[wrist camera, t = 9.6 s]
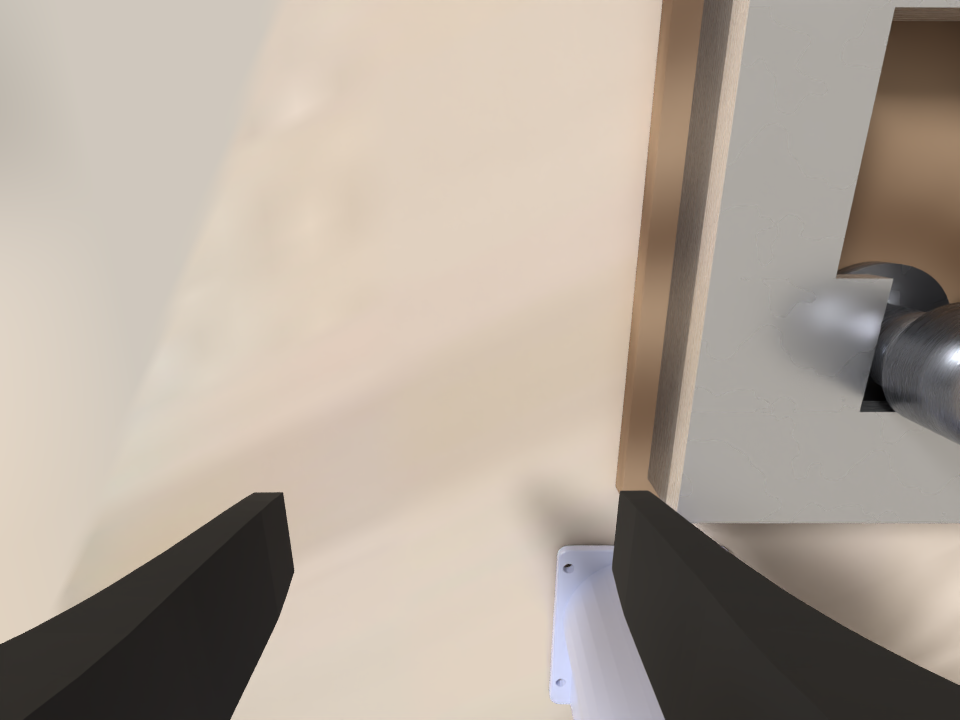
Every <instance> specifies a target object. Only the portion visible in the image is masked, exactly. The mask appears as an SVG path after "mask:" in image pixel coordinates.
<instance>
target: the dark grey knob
mask: <svg viewBox="0 0 960 720" xmlns="http://www.w3.org/2000/svg"><path fill="white" fill-rule="evenodd" d="M837 274H870V275H876V276H881V277H887V278H893V282H892V286H891V290H890V294H889V298H888V302H887V306H886V310H885V314H884V318H883V322H882V326H881V329H880V333H879V337H878V341H877V345H876V349H875V353H874V357H873V361H872V365H871V369H870V373H869V377H868V381H867V384H866V388H865V392H864V396H863V400H862V401H887V402H888V403H889V405H890V406H891V407H892V408H893V409H894V411H895V412H897V413H898V414H899V415H901V416H903V417H904V418H906V419H908V420H910V421H912V422H914V423H916V424H918V425H920V426H922V427H924V428H926V429H928V430H930V431H932V432H935V433H937V434H939V435H941V436H943V437H945V438H947V439H949V440H951V441H953V442H955V443H957V444H959V445H960V302H956V303H951V304H949V301H948V298H947V295H946V293H945V292H944V290H943V288H942V287H941V286H940V284H939V283H938V282H937V281H936V280H935V279H934V278H933V277H932V276H930V275H929V274H927V273H926V272H924V271H922V270H920V269H918V268H915V267H913V266H908V265H904V264H897V263H889V262H879V261H871V262H862V263H856V264H853V265H850V266H846V267H844V268H842V269H839V270H837Z"/></svg>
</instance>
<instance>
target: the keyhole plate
mask: <svg viewBox="0 0 960 720" xmlns="http://www.w3.org/2000/svg"><path fill="white" fill-rule="evenodd" d="M892 21H960V0H704V5H703V14H702V22H701V30H700V39H699V47H698V56H697V64H696V73H695V81H694V89H693V98H692V106H691V115H690V123H689V132H688V140H687V148H686V157H685V165H684V174H683V182H682V191H681V199H680V207H679V216H678V224H677V233H676V241H675V250H674V258H673V266H672V275H671V283H670V292H669V300H668V309H667V317H666V325H665V334H664V342H663V351H662V359H661V368H660V376H659V384H658V393H657V401H656V410H655V418H654V427H653V435H652V443H651V452H650V460H649V469H648V477H647V478H648V480H649V482H650V483H651V485H652V486H653V488H654V490H655V491H656V493H657V494H658V496H659V498H660V499H661V500H662V501H663V502H665V503H666V504H667V505H669V506H670V507H671V508H672V509H674V510H675V511H676V512H678V513H679V514H680V515H681V516H683V517H684V518H685V519H686V520H688V521H689V522H690V523H960V445H959V444H957V443H955V442H953V441H951V440H949V439H947V438H945V437H943V436H941V435H939V434H937V433H935V432H932V431H930V430H928V429H926V428H924V427H922V426H920V425H918V424H916V423H914V422H912V421H910V420H908V419H906V418H904V417H903V416H901V415H899V414H898V413H897V412H895V411H894V409H893V408H892V407H891V406H890V405H889V403H888V402H887V401H862V400H863V396H864V392H865V388H866V384H867V381H868V377H869V373H870V369H871V365H872V361H873V357H874V353H875V349H876V345H877V341H878V337H879V333H880V329H881V326H882V322H883V318H884V314H885V310H886V306H887V302H888V298H889V294H890V290H891V286H892V282H893V278H887V277H881V276H876V275H870V274H837V270H838V265H839V261H840V256H841V252H842V247H843V243H844V238H845V233H846V229H847V224H848V220H849V215H850V211H851V206H852V202H853V197H854V192H855V188H856V183H857V179H858V174H859V170H860V165H861V160H862V156H863V151H864V147H865V142H866V138H867V133H868V129H869V124H870V119H871V115H872V110H873V106H874V101H875V97H876V92H877V87H878V83H879V78H880V74H881V69H882V65H883V60H884V55H885V51H886V46H887V42H888V37H889V33H890V28H891V24H892Z"/></svg>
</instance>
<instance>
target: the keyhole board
mask: <svg viewBox="0 0 960 720" xmlns="http://www.w3.org/2000/svg"><path fill="white" fill-rule="evenodd" d="M703 5H704V0H663V3H662V13H661V24H660V34H659V44H658V54H657V65H656V75H655V85H654V96H653V106H652V116H651V127H650V137H649V147H648V157H647V168H646V178H645V188H644V199H643V209H642V219H641V230H640V240H639V250H638V260H637V271H636V281H635V291H634V302H633V312H632V322H631V333H630V343H629V353H628V363H627V374H626V384H625V394H624V405H623V415H622V425H621V436H620V446H619V456H618V466H617V477H616V488H617V490H618V492H619V494H620V491H638V490H648V491H650V492H651V493H653V494H654V495H656V496H657V497H658V498H659V496H658V494H657V493H656V491H655V490H654V488H653V486H652V485H651V483H650V482H649V480H648V478H647V477H648V469H649V460H650V452H651V443H652V435H653V427H654V418H655V410H656V401H657V393H658V384H659V376H660V368H661V359H662V351H663V342H664V334H665V325H666V317H667V309H668V300H669V292H670V283H671V275H672V266H673V258H674V250H675V241H676V233H677V224H678V216H679V207H680V199H681V191H682V182H683V174H684V165H685V157H686V148H687V140H688V132H689V123H690V115H691V106H692V98H693V89H694V81H695V73H696V64H697V56H698V47H699V39H700V30H701V22H702V14H703ZM871 261H879V262H889V263H897V264H904V265H908V266H913V267H915V268H918V269H920V270H922V271H924V272H926V273H927V274H929V275H930V276H932V277H933V278H934V279H935V280H936V281H937V282H938V283H939V284H940V286H941V287H942V288H943V290H944V292H945V293H946V295H947V298H948V301H949V304H951V303H956V302H960V21H892V24H891V28H890V33H889V37H888V42H887V46H886V51H885V55H884V60H883V65H882V69H881V74H880V78H879V83H878V87H877V92H876V97H875V101H874V106H873V110H872V115H871V119H870V124H869V129H868V133H867V138H866V142H865V147H864V151H863V156H862V160H861V165H860V170H859V174H858V179H857V183H856V188H855V192H854V197H853V202H852V206H851V211H850V215H849V220H848V224H847V229H846V233H845V238H844V243H843V247H842V252H841V256H840V261H839V265H838V270H839V269H842V268H844V267H846V266H850V265H853V264H856V263H862V262H871Z"/></svg>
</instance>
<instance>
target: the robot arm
mask: <svg viewBox="0 0 960 720" xmlns="http://www.w3.org/2000/svg"><path fill="white" fill-rule="evenodd" d="M566 564H572V565H571V566H570V567H564V566H565V565H566ZM293 574H294V565H293V558H292V551H291V544H290V537H289V530H288V523H287V517H286V510H285V503H284V496H283V492H275V493H253V494H251V495H249V496H248V497H246V498H244V499H243V500H241V501H240V502H238V503H236V504H235V505H233V506H232V507H230V508H229V509H227V510H226V511H224V512H223V513H221V514H220V515H218V516H217V517H215V518H214V519H213V520H211V521H210V522H208V523H207V524H205V525H204V526H202V527H201V528H199V529H198V530H196V531H195V532H193V533H192V534H190V535H189V536H187V537H186V538H184V539H183V540H181V541H180V542H178V543H177V544H175V545H174V546H172V547H171V548H169V549H168V550H166V551H165V552H163V553H162V554H160V555H159V556H157V557H155V558H154V559H152V560H151V561H149V562H147V563H146V564H144V565H143V566H141V567H139V568H138V569H136V570H134V571H133V572H131V573H130V574H128V575H126V576H125V577H123V578H122V579H120V580H118V581H117V582H115V583H114V584H112V585H110V586H109V587H107V588H105V589H104V590H102V591H100V592H99V593H97V594H95V595H93V596H92V597H90V598H88V599H86V600H85V601H83V602H81V603H79V604H77V605H76V606H74V607H72V608H70V609H68V610H66V611H64V612H63V613H61V614H59V615H57V616H55V617H53V618H51V619H50V620H48V621H46V622H44V623H42V624H40V625H39V626H37V627H35V628H33V629H31V630H29V631H27V632H25V633H23V634H21V635H19V636H17V637H14V638H12V639H11V640H8V641H6V642H4V643H2V644H0V720H230V719H231V717H232V715H233V713H234V711H235V708H236V706H237V704H238V702H239V700H240V698H241V696H242V694H243V692H244V690H245V688H246V686H247V684H248V682H249V679H250V677H251V675H252V673H253V671H254V669H255V667H256V665H257V663H258V661H259V659H260V657H261V655H262V653H263V650H264V648H265V646H266V644H267V642H268V640H269V638H270V636H271V633H272V631H273V629H274V627H275V625H276V623H277V621H278V618H279V616H280V613H281V610H282V607H283V604H284V601H285V599H286V596H287V593H288V589H289V586H290V583H291V580H292V577H293ZM549 694H550V699H551V701H552V702H554V703H556V704H571V710H572V715H573V720H960V685H958V684H955V683H953V682H951V681H949V680H947V679H945V678H943V677H941V676H939V675H937V674H935V673H933V672H930V671H928V670H926V669H924V668H922V667H920V666H918V665H916V664H914V663H912V662H910V661H908V660H906V659H904V658H903V657H901V656H899V655H897V654H895V653H893V652H891V651H889V650H887V649H885V648H883V647H881V646H879V645H877V644H876V643H874V642H872V641H870V640H868V639H866V638H864V637H862V636H861V635H859V634H857V633H855V632H853V631H851V630H850V629H848V628H846V627H844V626H842V625H841V624H839V623H837V622H836V621H834V620H832V619H831V618H829V617H827V616H825V615H824V614H822V613H820V612H819V611H817V610H815V609H814V608H812V607H810V606H809V605H807V604H805V603H804V602H802V601H800V600H799V599H797V598H796V597H794V596H792V595H791V594H789V593H788V592H786V591H785V590H783V589H781V588H780V587H778V586H777V585H775V584H774V583H772V582H771V581H770V580H768V579H767V578H765V577H764V576H762V575H761V574H759V573H758V572H756V571H755V570H753V569H752V568H751V567H749V566H748V565H746V564H745V563H743V562H742V561H741V560H739V559H738V558H736V557H735V556H734V555H732V554H731V553H730V552H729V551H728V550H727V549H726V548H725V547H723V546H720V545H719V544H717V543H716V542H715V541H714V540H712V539H711V538H710V537H708V536H707V535H706V534H704V533H703V532H702V531H700V530H699V529H698V528H697V527H695V526H694V525H693V524H692V523H690V522H689V521H688V520H686V519H685V518H684V517H683V516H681V515H680V514H679V513H678V512H676V511H675V510H674V509H672V508H671V507H670V506H669V505H667V504H666V503H665V502H663V501H662V500H661V499H660V498H658V497H657V496H656V495H654V494H653V493H651V492H650V491H648V490H638V491H620V496H619V505H618V514H617V524H616V533H615V542H614V546H589V545H588V546H587V545H569V546H564V547H562V548H560V550H559V551H558V554H557V567H556V584H555V601H554V617H553V634H552V651H551V668H550V685H549Z"/></svg>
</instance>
